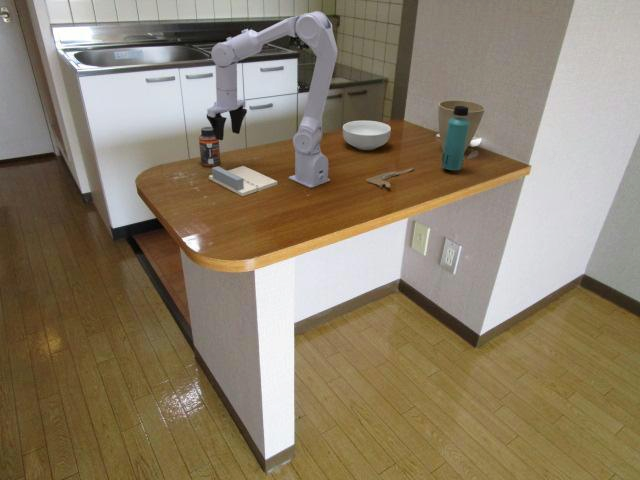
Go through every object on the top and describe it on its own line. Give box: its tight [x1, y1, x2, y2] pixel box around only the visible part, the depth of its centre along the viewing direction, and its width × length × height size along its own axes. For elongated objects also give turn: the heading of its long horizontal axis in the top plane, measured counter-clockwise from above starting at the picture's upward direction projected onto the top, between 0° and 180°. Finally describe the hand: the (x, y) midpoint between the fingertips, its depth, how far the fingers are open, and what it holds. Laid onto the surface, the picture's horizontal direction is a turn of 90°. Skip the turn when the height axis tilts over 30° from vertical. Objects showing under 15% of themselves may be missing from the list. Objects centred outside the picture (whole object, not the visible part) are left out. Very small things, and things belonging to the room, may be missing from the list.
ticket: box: [227, 165, 278, 192], centre depth 133 cm, size 16×7×1 cm, turn 45°
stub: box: [208, 165, 258, 197], centre depth 128 cm, size 16×5×4 cm, turn 45°
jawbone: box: [365, 167, 415, 189], centre depth 137 cm, size 9×20×2 cm, turn 150°
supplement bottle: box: [198, 126, 221, 168], centre depth 140 cm, size 6×6×11 cm
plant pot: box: [437, 99, 486, 153], centre depth 155 cm, size 15×15×16 cm
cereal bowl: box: [342, 120, 392, 151], centre depth 159 cm, size 17×17×7 cm
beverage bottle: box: [440, 106, 470, 171], centre depth 138 cm, size 6×7×20 cm
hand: (227, 136), depth 134 cm, fingers open, 7 cm apart
